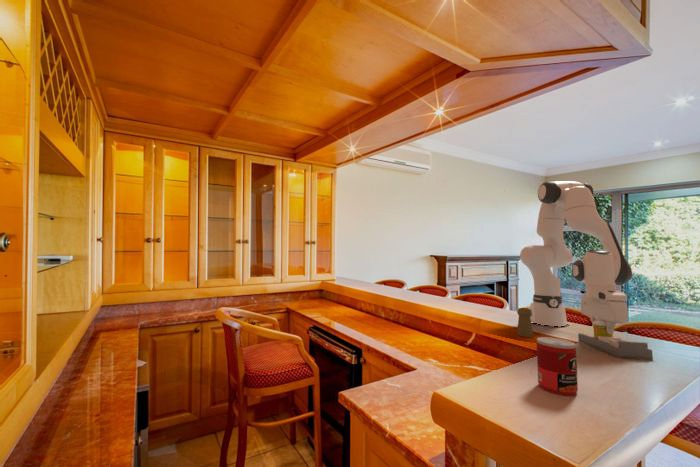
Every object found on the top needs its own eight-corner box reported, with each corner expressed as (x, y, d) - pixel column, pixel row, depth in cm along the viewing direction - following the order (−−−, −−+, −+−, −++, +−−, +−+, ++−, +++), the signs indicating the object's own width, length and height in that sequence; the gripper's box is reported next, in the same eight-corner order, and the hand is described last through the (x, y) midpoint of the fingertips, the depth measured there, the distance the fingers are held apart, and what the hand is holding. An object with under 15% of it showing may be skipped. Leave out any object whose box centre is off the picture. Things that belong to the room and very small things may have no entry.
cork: (514, 335, 127) (514, 308, 128) (519, 332, 131) (518, 306, 132) (531, 337, 123) (530, 309, 124) (535, 335, 127) (534, 308, 128)
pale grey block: (598, 345, 110) (598, 336, 110) (619, 346, 109) (618, 337, 109) (605, 348, 106) (604, 338, 107) (626, 349, 105) (625, 339, 106)
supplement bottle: (596, 343, 111) (594, 316, 112) (593, 340, 116) (591, 314, 117) (615, 345, 108) (613, 317, 109) (611, 342, 113) (609, 315, 114)
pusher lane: (578, 341, 119) (578, 327, 119) (606, 342, 117) (606, 329, 118) (617, 357, 98) (617, 341, 98) (652, 359, 97) (651, 343, 97)
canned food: (564, 398, 67) (562, 346, 68) (530, 385, 74) (528, 338, 75) (586, 393, 70) (583, 343, 71) (551, 380, 77) (549, 336, 78)
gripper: (575, 290, 124) (576, 325, 123) (610, 295, 104) (612, 337, 103) (592, 291, 123) (594, 326, 122) (631, 296, 103) (633, 338, 102)
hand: (603, 331), depth 112 cm, fingers closed on supplement bottle, 5 cm apart
